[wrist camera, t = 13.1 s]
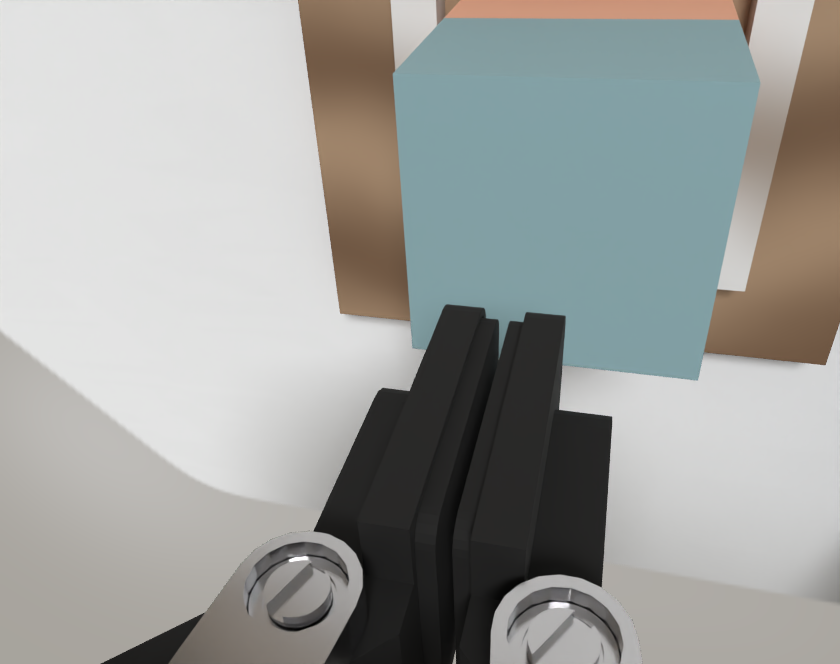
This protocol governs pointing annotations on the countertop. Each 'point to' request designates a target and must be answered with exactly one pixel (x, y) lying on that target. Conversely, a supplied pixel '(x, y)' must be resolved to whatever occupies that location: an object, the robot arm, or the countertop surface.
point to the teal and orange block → (576, 170)
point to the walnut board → (755, 203)
